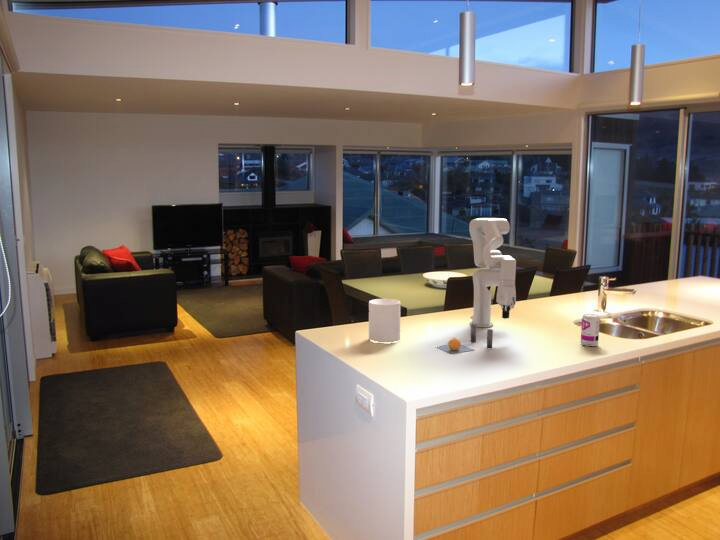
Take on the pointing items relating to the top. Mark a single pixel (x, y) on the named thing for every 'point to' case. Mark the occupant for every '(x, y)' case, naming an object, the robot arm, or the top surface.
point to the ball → (454, 344)
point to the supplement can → (590, 330)
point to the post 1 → (473, 332)
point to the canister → (384, 320)
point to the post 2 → (489, 338)
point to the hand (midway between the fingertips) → (505, 317)
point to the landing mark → (462, 349)
